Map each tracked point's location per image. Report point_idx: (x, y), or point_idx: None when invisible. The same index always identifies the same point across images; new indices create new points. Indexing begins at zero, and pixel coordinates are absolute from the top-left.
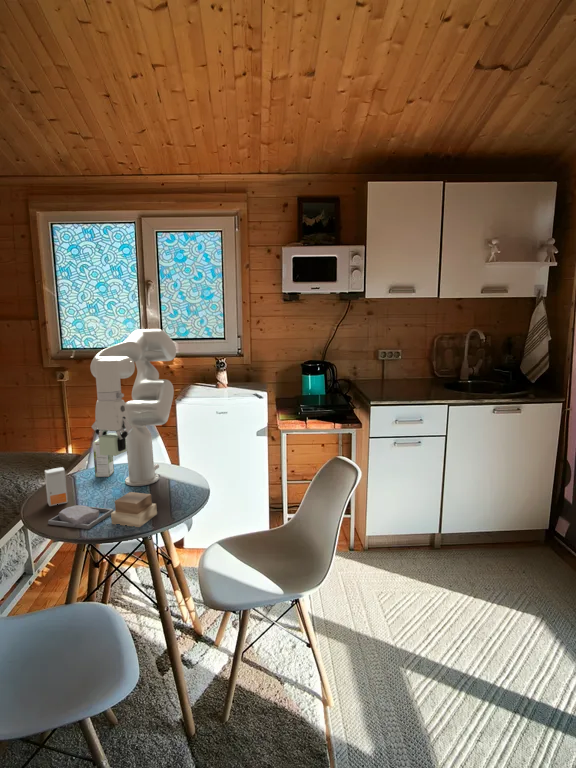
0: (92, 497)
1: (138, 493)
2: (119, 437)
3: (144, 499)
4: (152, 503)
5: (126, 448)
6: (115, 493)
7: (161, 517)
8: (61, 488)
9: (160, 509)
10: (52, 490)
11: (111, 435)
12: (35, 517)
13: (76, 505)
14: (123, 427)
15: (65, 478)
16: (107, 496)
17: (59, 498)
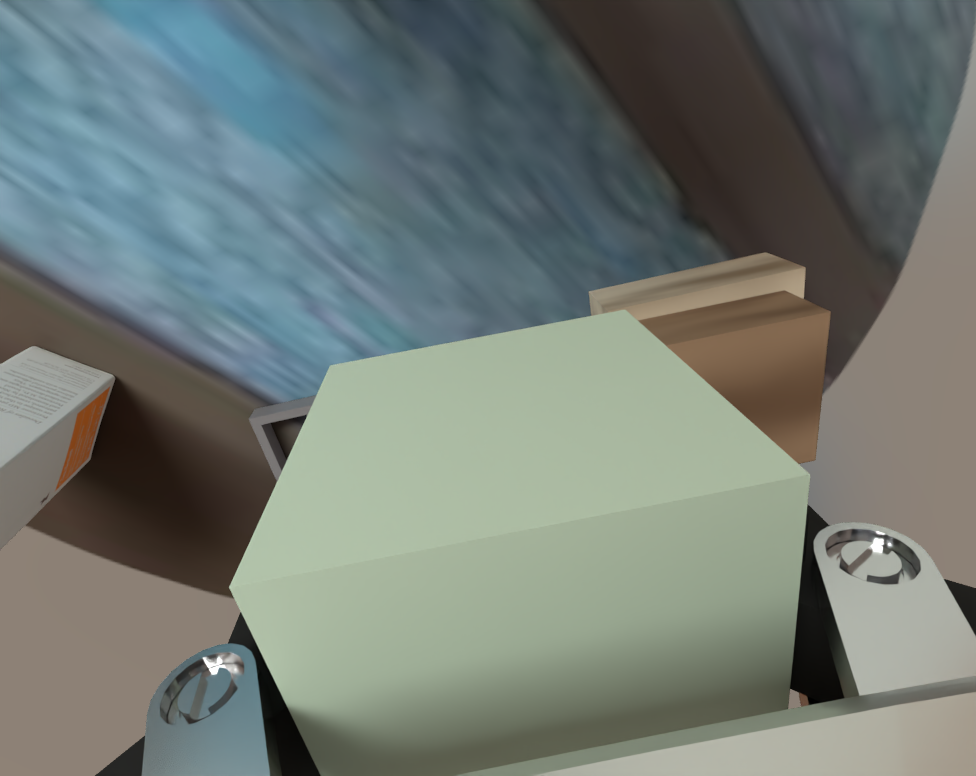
0: (163, 239)
1: (734, 342)
2: (820, 702)
3: (819, 385)
4: (780, 277)
5: (640, 323)
6: (239, 95)
7: (813, 276)
8: (49, 454)
9: (752, 189)
10: (36, 500)
11: (538, 728)
12: (185, 559)
13: (261, 418)
14: (973, 721)
15: (5, 466)
16: (242, 174)
17: (84, 432)
